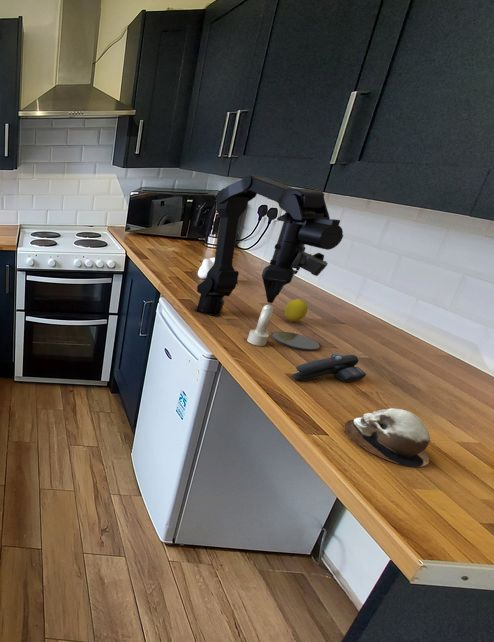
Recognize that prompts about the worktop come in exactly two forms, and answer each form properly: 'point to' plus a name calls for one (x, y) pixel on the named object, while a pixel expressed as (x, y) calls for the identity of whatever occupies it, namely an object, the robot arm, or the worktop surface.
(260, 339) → the pestle
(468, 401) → the worktop surface
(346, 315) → the worktop surface
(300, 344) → the coaster
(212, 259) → the white rounded lump
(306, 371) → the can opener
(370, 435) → the skull
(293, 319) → the lemon
